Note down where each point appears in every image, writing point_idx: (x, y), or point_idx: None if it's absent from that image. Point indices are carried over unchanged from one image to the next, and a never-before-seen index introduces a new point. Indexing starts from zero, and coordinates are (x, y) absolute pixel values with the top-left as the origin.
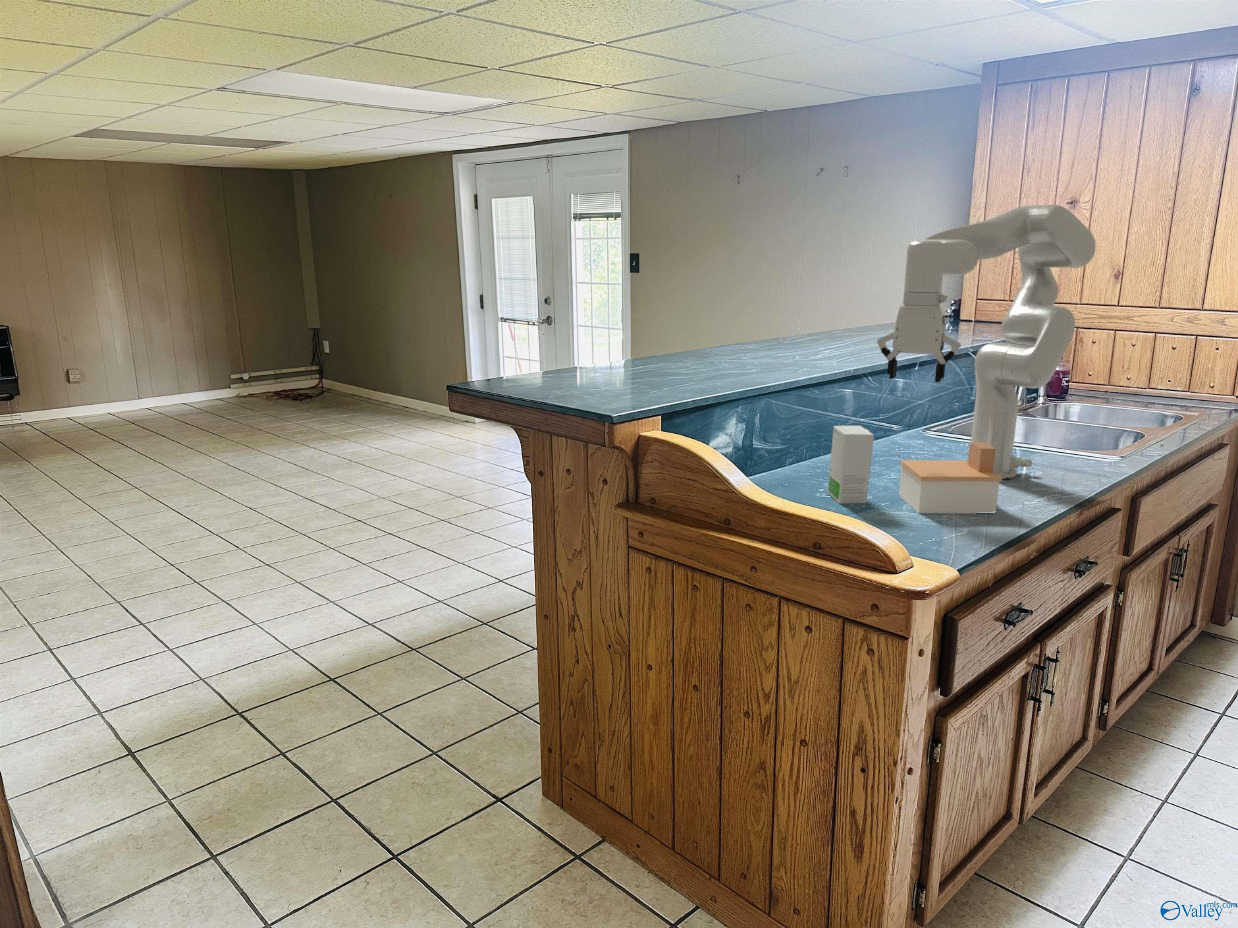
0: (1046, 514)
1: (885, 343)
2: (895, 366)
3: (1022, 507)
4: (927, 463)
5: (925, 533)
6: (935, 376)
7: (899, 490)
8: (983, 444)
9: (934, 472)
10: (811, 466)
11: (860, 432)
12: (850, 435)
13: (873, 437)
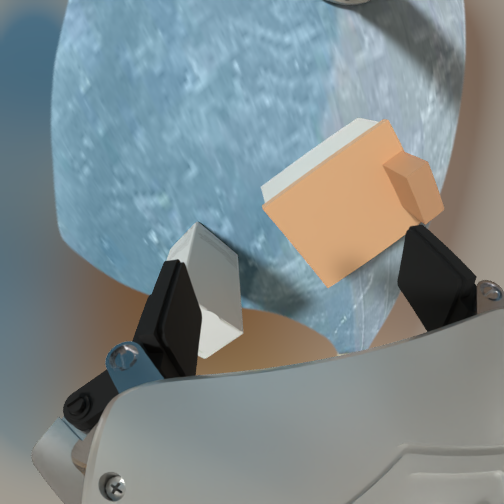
0: (443, 160)
1: (76, 454)
2: (183, 331)
3: (422, 143)
4: (317, 201)
5: (335, 308)
6: (408, 299)
7: (262, 189)
8: (428, 184)
9: (342, 254)
10: (68, 127)
11: (216, 339)
12: (210, 354)
13: (242, 329)
